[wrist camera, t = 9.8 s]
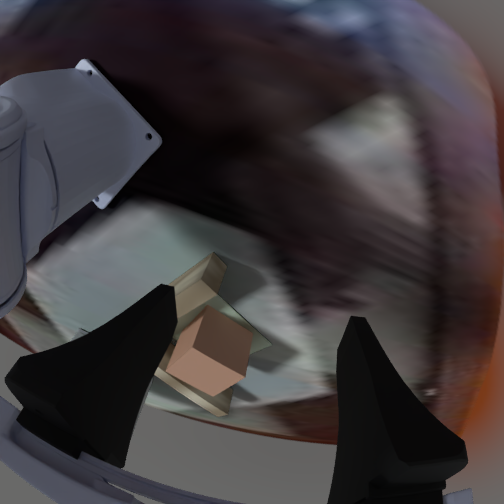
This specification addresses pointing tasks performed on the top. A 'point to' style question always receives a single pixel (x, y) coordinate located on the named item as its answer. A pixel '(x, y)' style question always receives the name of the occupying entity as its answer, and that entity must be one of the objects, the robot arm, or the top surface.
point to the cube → (211, 352)
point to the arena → (188, 307)
